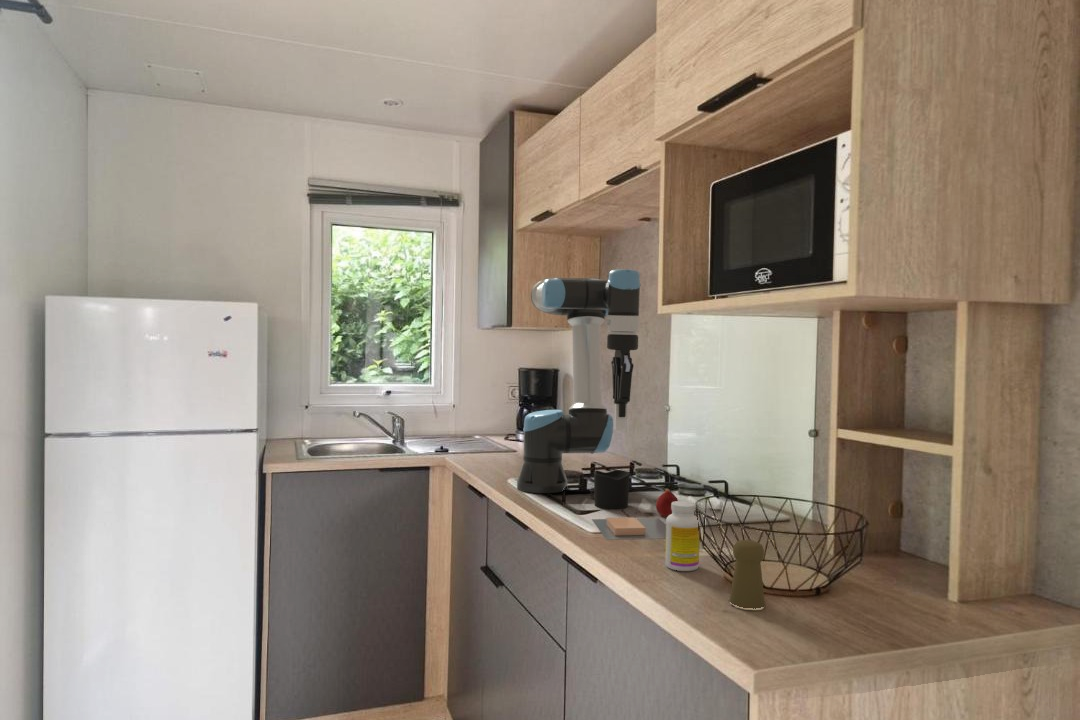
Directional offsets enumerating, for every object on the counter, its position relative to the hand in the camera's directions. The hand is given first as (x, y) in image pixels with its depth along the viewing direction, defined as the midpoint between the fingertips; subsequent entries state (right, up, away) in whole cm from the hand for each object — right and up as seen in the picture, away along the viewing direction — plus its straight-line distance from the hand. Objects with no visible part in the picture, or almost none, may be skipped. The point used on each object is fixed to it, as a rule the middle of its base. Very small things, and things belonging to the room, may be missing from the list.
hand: (620, 429), depth 172 cm
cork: (+16, -26, -50) cm, 59 cm away
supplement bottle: (+9, -25, -31) cm, 41 cm away
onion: (+12, -24, +5) cm, 27 cm away
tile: (0, -21, -5) cm, 22 cm away
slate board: (+2, -24, -8) cm, 25 cm away
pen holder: (-1, -23, +14) cm, 27 cm away
